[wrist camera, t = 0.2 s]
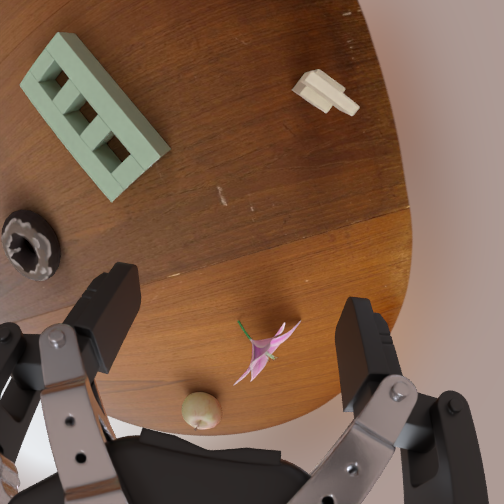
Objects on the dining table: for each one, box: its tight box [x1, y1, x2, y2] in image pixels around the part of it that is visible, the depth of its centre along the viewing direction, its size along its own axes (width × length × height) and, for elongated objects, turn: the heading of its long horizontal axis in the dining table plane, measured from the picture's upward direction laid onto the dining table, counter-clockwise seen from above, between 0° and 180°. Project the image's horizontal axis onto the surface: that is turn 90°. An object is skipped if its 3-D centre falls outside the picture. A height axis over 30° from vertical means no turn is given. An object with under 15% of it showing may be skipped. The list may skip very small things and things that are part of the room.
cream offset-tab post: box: [292, 69, 359, 116], centre depth 22 cm, size 2×4×14 cm, turn 57°
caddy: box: [20, 32, 171, 202], centre depth 28 cm, size 8×20×4 cm, turn 36°
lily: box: [234, 321, 300, 385], centre depth 42 cm, size 12×12×10 cm
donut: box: [2, 210, 61, 281], centre depth 38 cm, size 12×12×4 cm
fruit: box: [182, 392, 222, 431], centre depth 53 cm, size 8×7×8 cm
